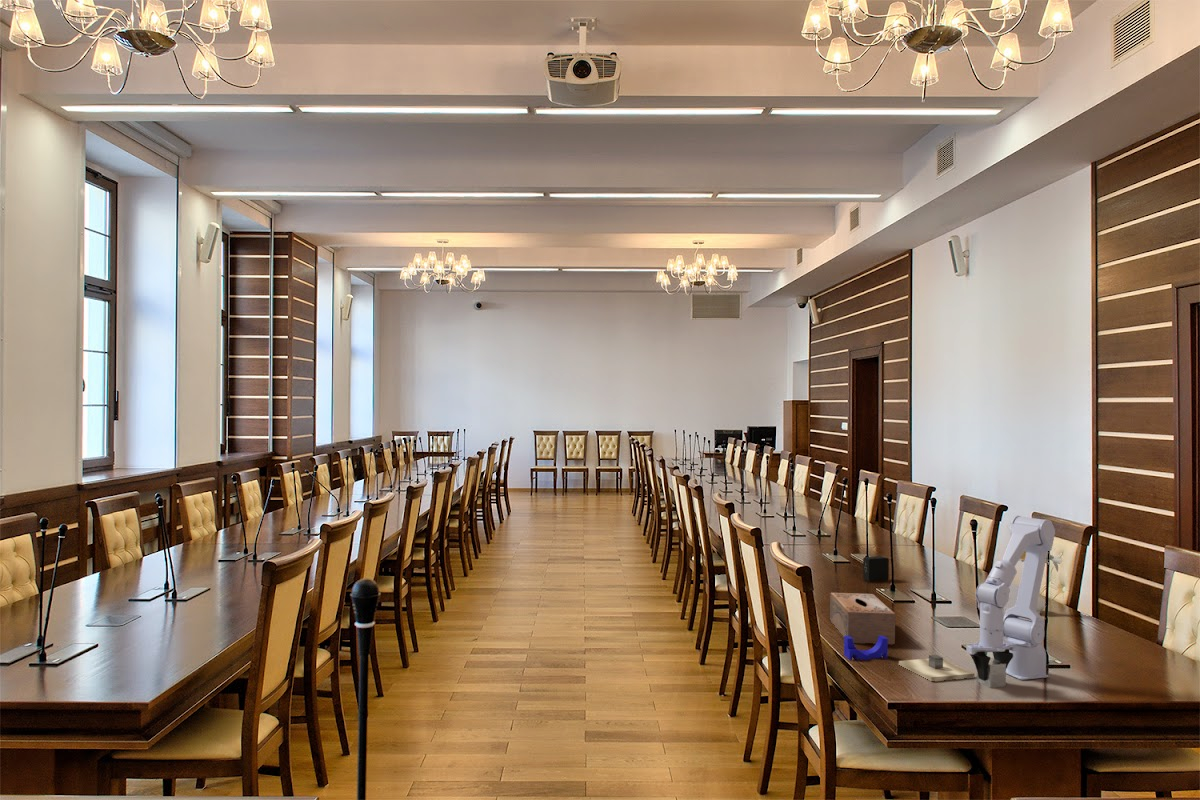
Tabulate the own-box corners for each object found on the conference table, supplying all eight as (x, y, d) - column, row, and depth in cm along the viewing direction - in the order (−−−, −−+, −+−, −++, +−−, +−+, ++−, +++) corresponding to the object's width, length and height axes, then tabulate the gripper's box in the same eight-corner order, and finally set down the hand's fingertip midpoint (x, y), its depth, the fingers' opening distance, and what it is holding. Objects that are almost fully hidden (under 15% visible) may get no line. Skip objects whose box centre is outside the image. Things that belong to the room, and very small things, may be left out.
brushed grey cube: (991, 679, 214) (991, 657, 214) (1005, 686, 209) (1005, 663, 209) (976, 681, 213) (976, 659, 213) (990, 687, 208) (990, 665, 208)
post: (936, 665, 222) (936, 654, 222) (942, 668, 220) (942, 657, 220) (928, 665, 221) (928, 655, 221) (935, 668, 219) (935, 658, 219)
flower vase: (1066, 618, 279) (1067, 548, 279) (1010, 614, 283) (1011, 545, 283) (1053, 609, 292) (1054, 542, 292) (1000, 605, 295) (1001, 539, 296)
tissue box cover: (894, 645, 245) (895, 613, 245) (847, 643, 246) (848, 612, 246) (872, 622, 271) (872, 593, 271) (830, 621, 272) (830, 592, 272)
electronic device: (862, 580, 337) (863, 557, 337) (882, 579, 340) (882, 556, 340) (869, 582, 333) (869, 558, 333) (888, 581, 336) (888, 557, 336)
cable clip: (849, 660, 230) (849, 640, 230) (844, 655, 234) (844, 635, 234) (889, 660, 230) (889, 640, 230) (883, 655, 235) (883, 635, 235)
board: (939, 661, 229) (939, 657, 229) (974, 677, 216) (974, 673, 216) (898, 665, 225) (898, 661, 225) (931, 681, 212) (931, 677, 212)
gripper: (980, 634, 205) (979, 685, 205) (1025, 630, 209) (1024, 681, 209) (961, 626, 212) (960, 676, 212) (1004, 623, 216) (1004, 672, 216)
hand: (991, 678), depth 211 cm, fingers closed on brushed grey cube, 5 cm apart
